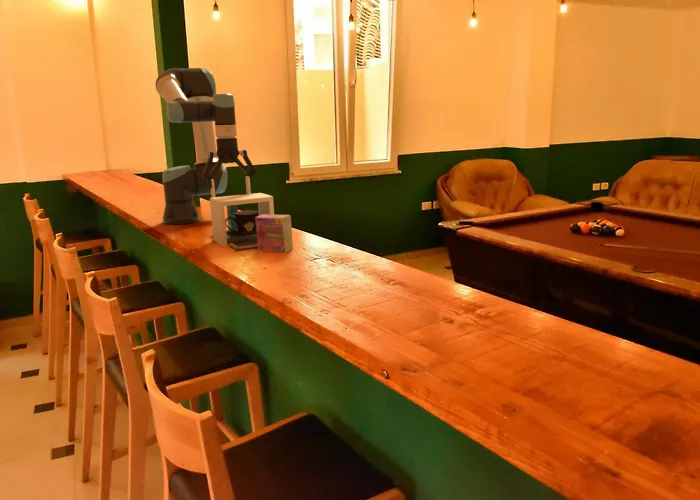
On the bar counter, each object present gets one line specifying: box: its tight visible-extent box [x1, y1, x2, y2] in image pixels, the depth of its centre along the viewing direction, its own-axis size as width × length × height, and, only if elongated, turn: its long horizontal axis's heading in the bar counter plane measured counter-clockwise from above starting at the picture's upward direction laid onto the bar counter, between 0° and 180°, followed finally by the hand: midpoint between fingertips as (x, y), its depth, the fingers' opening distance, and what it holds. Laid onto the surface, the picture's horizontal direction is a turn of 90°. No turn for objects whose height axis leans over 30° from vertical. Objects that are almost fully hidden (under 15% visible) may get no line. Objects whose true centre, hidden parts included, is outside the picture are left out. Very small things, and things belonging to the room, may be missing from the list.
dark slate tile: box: [228, 241, 258, 252], centre depth 193 cm, size 8×16×1 cm, turn 119°
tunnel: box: [209, 192, 275, 247], centre depth 201 cm, size 12×19×16 cm, turn 119°
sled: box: [226, 205, 257, 246], centre depth 204 cm, size 20×15×13 cm
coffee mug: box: [225, 209, 259, 236], centre depth 201 cm, size 12×9×10 cm
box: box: [255, 214, 294, 253], centre depth 186 cm, size 10×6×12 cm, turn 68°
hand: (231, 195), depth 209 cm, fingers open, 13 cm apart
